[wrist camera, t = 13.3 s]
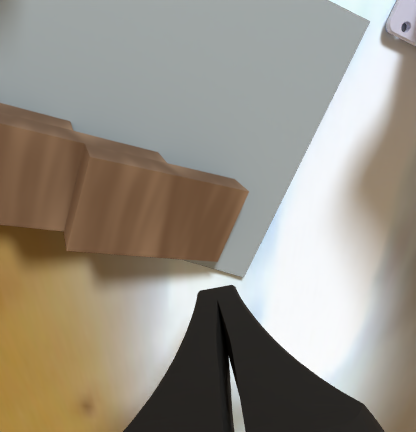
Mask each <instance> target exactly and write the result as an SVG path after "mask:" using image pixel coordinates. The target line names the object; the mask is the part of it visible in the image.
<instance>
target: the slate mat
mask: <svg viewBox="0 0 416 432" xmlns="http://www.w3.org/2000/svg"><path fill="white" fill-rule="evenodd" d="M369 23H370V21H369V20H367V19H365V18H363V17H361V16H359V15H357V14H355V13H353V12H351V11H349V10H347V9H345V8H343V7H341V6H339V5H337V4H335V3H333V2H331V1H329V0H0V103H3V104H7V105H11V106H15V107H18V108H22V109H26V110H30V111H33V112H37V113H41V114H45V115H49V116H52V117H56V118H60V119H64V120H67V121H70V122H71V125H72V128H73V131H76V132H80V133H84V134H88V135H92V136H96V137H100V138H104V139H108V140H112V141H116V142H120V143H124V144H128V145H132V146H136V147H140V148H144V149H147V150H151V151H155V152H158V153H159V154H160V155H161V156H162V157H163V159H164V160H165V161H166V162H167V163H169V164H173V165H177V166H182V167H186V168H190V169H194V170H199V171H203V172H207V173H211V174H216V175H220V176H224V177H228V178H233V179H235V180H237V181H238V182H239V183H240V184H241V185H242V186H243V187H245V188H246V189H247V190H248V191H249V193H248V196H247V198H246V200H245V202H244V204H243V207H242V209H241V211H240V213H239V216H238V218H237V220H236V222H235V224H234V227H233V229H232V231H231V233H230V236H229V238H228V240H227V242H226V245H225V247H224V249H223V251H222V253H221V256H220V258H219V260H218V262H211V261H198V260H185V261H189V262H192V263H195V264H199V265H202V266H206V267H209V268H213V269H216V270H220V271H223V272H227V273H230V274H234V275H237V276H240V277H244V276H245V274H246V272H247V270H248V268H249V266H250V264H251V262H252V260H253V258H254V256H255V254H256V252H257V250H258V248H259V246H260V244H261V242H262V240H263V238H264V236H265V234H266V232H267V230H268V228H269V226H270V224H271V222H272V220H273V218H274V216H275V213H276V211H277V209H278V207H279V205H280V203H281V201H282V199H283V197H284V195H285V193H286V191H287V189H288V187H289V185H290V183H291V181H292V179H293V177H294V175H295V173H296V171H297V169H298V167H299V165H300V163H301V161H302V159H303V157H304V155H305V153H306V151H307V149H308V147H309V145H310V143H311V141H312V138H313V136H314V134H315V132H316V130H317V128H318V126H319V124H320V122H321V120H322V118H323V116H324V114H325V112H326V110H327V108H328V106H329V104H330V102H331V100H332V98H333V96H334V94H335V92H336V90H337V88H338V86H339V84H340V82H341V80H342V78H343V76H344V74H345V72H346V70H347V68H348V66H349V63H350V61H351V59H352V57H353V55H354V53H355V51H356V49H357V47H358V45H359V43H360V41H361V39H362V37H363V35H364V33H365V31H366V29H367V27H368V25H369ZM182 260H184V259H182Z"/></svg>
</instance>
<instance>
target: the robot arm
mask: <svg viewBox="0 0 416 432" xmlns="http://www.w3.org/2000/svg"><path fill="white" fill-rule="evenodd" d="M404 22H405V23H406V26H407V28H406V30H405V31H404V32H403V31H402V29H401V27H402V24H403V23H404ZM386 29H387V31H388V32H389V33H390V34H392V35H394V36H396V37H398V38H400V39H402V40H404V41H406V42H408V43H410V44H412V45H414V46H416V0H397V2H396V4H395V6H394V8H393V10H392V12H391V14H390V16H389V18H388V20H387V22H386ZM229 358H230V362H231V366H232V370H233V373H234V377H235V381H236V385H237V388H238V392H239V396H240V400H241V406H242V412H243V418H244V424H245V431H246V432H384V430H383V429H382V427H381V426H380V424H379V423H378V422H377V420H376V419H375V418H374V416H373V415H372V414H371V413H370V411H369V410H368V409H367V408H366V406H365V405H364V404H363V403H361V402H359V401H357V400H355V399H354V398H352V397H350V396H348V395H347V394H345V393H343V392H341V391H340V390H338V389H336V388H335V387H333V386H332V385H330V384H329V383H327V382H326V381H324V380H323V379H321V378H320V377H318V376H317V375H316V374H314V373H313V372H312V371H310V370H309V369H308V368H306V367H305V366H304V365H302V364H301V363H300V362H299V361H297V360H296V359H295V358H294V357H293V356H291V355H290V354H289V353H288V352H287V351H286V350H285V349H284V348H283V347H281V346H280V345H279V344H278V343H277V342H276V341H275V340H274V339H273V338H272V337H271V336H270V335H269V333H268V332H267V331H266V330H265V329H264V328H263V327H262V326H261V325H260V323H259V322H258V321H257V320H256V318H255V317H254V316H253V315H252V313H251V312H250V311H249V309H248V308H247V307H246V305H245V304H244V302H243V301H242V299H241V297H240V296H239V294H238V292H237V290H236V287H235V286H233V285H229V286H223V287H218V288H213V289H207V290H202V291H200V292H199V293H198V295H197V301H196V305H195V308H194V312H193V315H192V318H191V321H190V323H189V326H188V329H187V332H186V334H185V336H184V339H183V341H182V343H181V345H180V347H179V350H178V352H177V354H176V356H175V358H174V360H173V362H172V363H171V365H170V367H169V369H168V370H167V372H166V374H165V376H164V377H163V379H162V380H161V382H160V383H159V385H158V387H157V388H156V390H155V391H154V393H153V394H152V395H151V397H150V398H149V400H148V401H147V402H146V404H145V405H144V406H143V407H142V409H141V410H140V411H139V413H138V414H137V415H136V417H135V418H134V419H133V420H132V422H131V423H130V424H129V425H128V426H127V428H126V429H125V430H124V431H123V432H234V425H233V415H232V401H231V385H230V369H229Z"/></svg>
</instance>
